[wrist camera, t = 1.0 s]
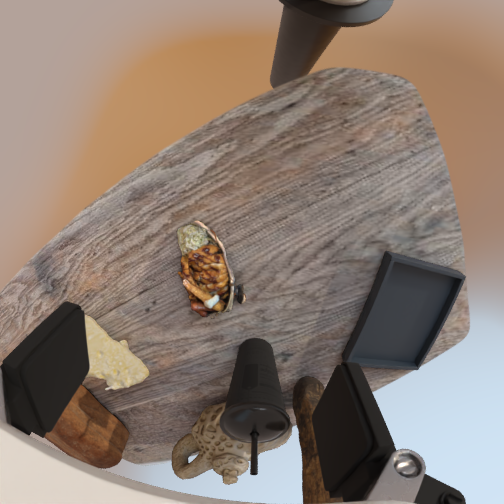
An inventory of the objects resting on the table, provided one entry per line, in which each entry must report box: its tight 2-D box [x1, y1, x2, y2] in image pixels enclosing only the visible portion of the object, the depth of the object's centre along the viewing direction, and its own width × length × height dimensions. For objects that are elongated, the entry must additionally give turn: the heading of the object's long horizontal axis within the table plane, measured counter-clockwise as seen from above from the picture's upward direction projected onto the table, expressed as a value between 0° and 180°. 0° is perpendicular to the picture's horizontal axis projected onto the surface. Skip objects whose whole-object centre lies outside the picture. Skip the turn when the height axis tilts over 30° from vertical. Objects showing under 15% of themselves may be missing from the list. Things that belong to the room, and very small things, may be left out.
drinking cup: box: [219, 338, 290, 475], centre depth 31 cm, size 8×8×20 cm
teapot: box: [172, 402, 292, 485], centre depth 38 cm, size 21×12×15 cm, turn 121°
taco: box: [177, 221, 246, 319], centre depth 35 cm, size 7×12×4 cm, turn 22°
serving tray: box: [342, 251, 466, 370], centre depth 38 cm, size 17×14×2 cm
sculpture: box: [293, 376, 343, 504], centre depth 28 cm, size 7×7×30 cm
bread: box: [44, 385, 129, 469], centre depth 41 cm, size 14×28×12 cm, turn 32°
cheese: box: [85, 314, 149, 390], centre depth 38 cm, size 15×7×15 cm
